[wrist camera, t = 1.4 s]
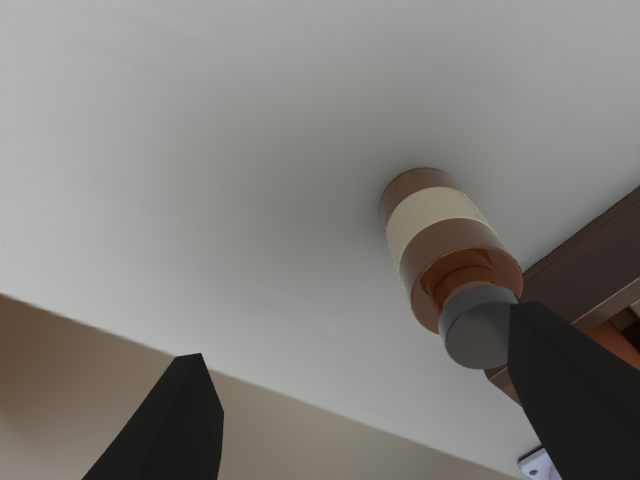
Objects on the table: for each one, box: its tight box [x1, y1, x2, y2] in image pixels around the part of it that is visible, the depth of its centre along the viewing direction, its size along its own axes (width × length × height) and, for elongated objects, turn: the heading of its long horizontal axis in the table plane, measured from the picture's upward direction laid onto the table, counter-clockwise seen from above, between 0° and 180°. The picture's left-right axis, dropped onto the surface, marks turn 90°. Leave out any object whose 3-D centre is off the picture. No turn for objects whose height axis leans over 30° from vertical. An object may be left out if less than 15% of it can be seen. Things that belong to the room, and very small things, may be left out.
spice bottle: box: [379, 168, 523, 369], centre depth 17 cm, size 4×4×8 cm
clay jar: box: [585, 319, 640, 370], centre depth 21 cm, size 4×4×6 cm
